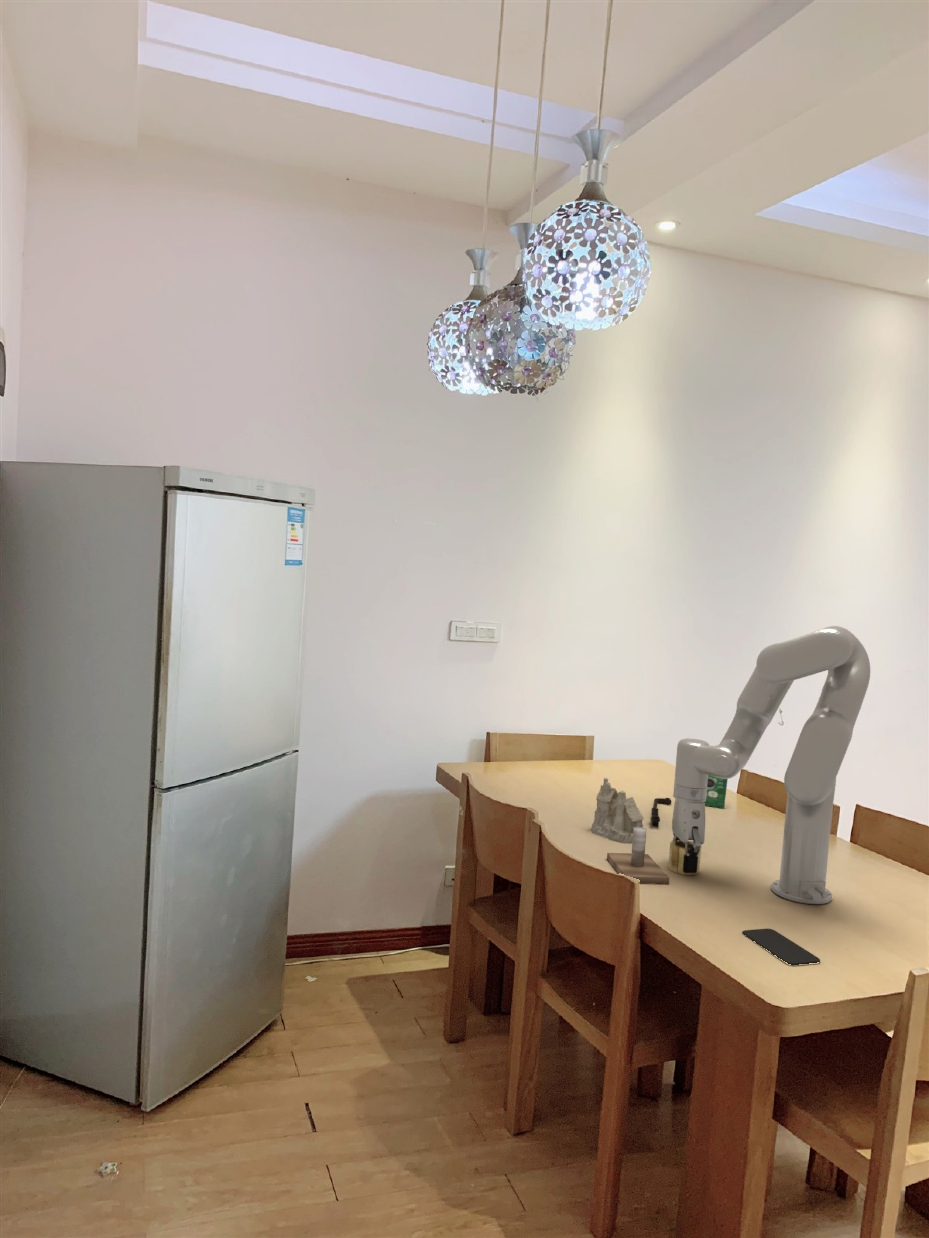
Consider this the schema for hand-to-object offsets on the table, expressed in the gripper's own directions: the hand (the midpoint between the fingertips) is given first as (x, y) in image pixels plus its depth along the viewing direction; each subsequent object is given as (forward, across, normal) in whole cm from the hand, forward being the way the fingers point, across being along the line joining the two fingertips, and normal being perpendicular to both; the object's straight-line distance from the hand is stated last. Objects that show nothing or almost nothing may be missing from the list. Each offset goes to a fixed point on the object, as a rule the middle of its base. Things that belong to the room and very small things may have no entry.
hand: (683, 865), depth 211 cm
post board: (+1, -2, +12) cm, 12 cm away
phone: (+1, -42, -4) cm, 42 cm away
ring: (+1, 0, 0) cm, 1 cm away
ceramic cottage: (+1, +28, +7) cm, 29 cm away
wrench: (+1, +46, -9) cm, 46 cm away
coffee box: (+1, +58, -29) cm, 65 cm away
